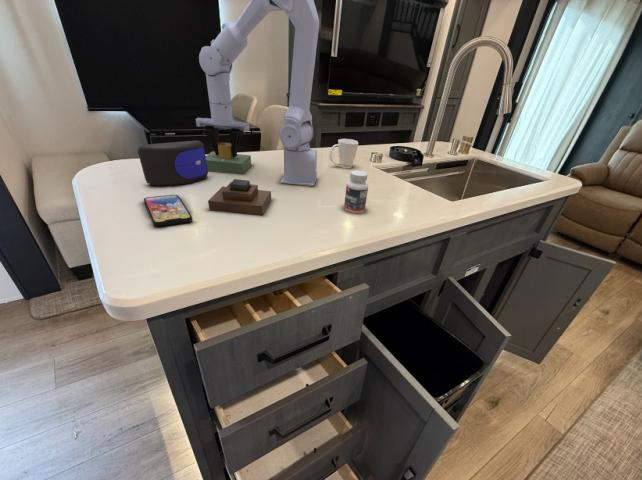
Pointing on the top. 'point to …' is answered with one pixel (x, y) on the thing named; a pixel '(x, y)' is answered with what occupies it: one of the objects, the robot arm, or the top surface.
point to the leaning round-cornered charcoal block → (173, 162)
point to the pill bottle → (356, 192)
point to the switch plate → (240, 200)
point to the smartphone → (167, 210)
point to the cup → (345, 152)
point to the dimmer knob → (225, 150)
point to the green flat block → (228, 163)
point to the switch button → (240, 185)
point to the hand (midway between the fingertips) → (226, 155)
